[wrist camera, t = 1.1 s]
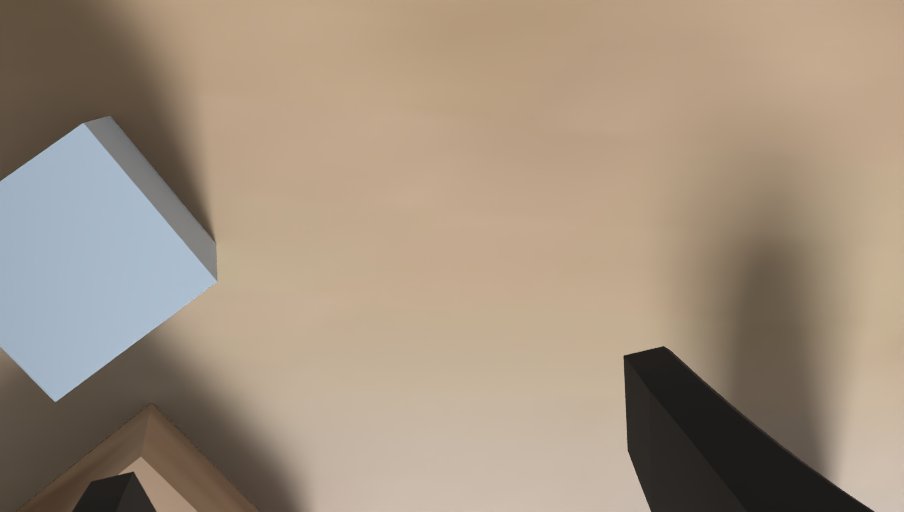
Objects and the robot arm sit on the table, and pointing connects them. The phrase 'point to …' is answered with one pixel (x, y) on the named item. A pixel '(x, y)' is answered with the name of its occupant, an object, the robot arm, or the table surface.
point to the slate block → (92, 255)
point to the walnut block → (147, 471)
